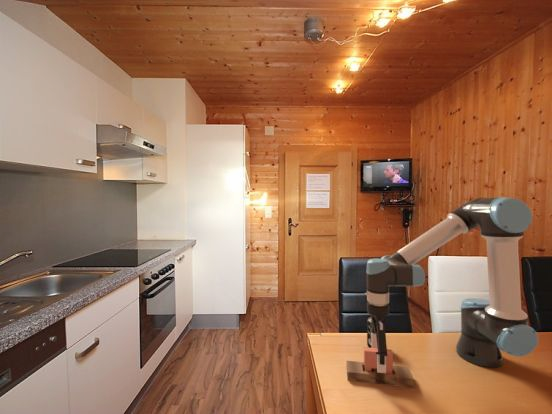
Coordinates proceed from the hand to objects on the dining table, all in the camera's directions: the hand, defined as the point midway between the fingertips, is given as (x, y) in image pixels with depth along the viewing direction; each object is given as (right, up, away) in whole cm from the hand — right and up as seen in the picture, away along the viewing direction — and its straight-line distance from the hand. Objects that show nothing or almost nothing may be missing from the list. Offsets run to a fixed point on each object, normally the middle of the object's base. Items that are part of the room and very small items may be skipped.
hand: (378, 360), depth 98 cm
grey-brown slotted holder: (0, -6, 0) cm, 6 cm away
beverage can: (+6, -6, +20) cm, 22 cm away
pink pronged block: (0, -6, 0) cm, 6 cm away
